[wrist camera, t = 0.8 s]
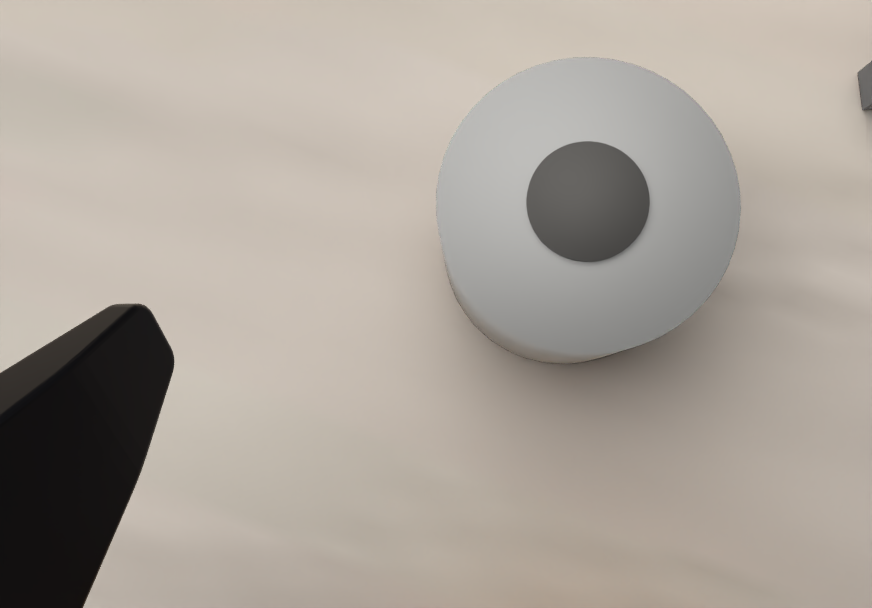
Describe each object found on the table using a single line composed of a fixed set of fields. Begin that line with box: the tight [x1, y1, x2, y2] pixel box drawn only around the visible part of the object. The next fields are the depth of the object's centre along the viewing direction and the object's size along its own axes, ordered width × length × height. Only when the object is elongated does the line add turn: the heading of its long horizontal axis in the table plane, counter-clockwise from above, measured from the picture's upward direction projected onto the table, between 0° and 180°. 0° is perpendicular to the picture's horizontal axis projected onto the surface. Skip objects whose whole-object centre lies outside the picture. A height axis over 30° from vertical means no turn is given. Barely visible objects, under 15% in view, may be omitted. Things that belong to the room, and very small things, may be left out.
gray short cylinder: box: [436, 57, 741, 364], centre depth 19 cm, size 6×6×5 cm
